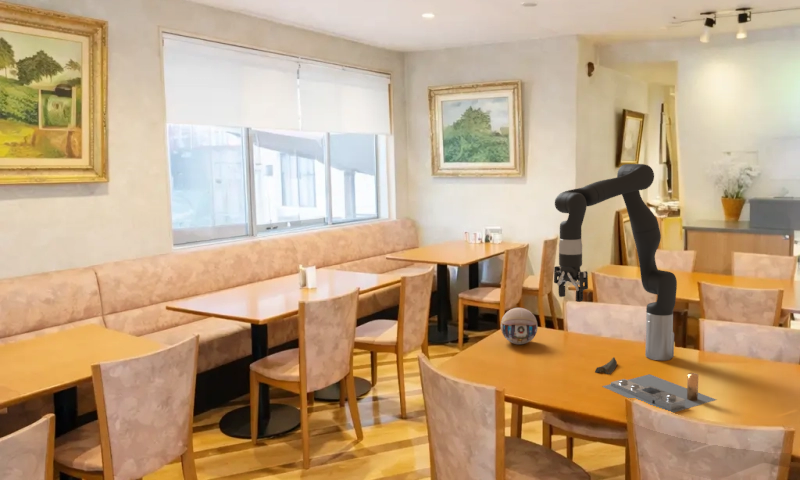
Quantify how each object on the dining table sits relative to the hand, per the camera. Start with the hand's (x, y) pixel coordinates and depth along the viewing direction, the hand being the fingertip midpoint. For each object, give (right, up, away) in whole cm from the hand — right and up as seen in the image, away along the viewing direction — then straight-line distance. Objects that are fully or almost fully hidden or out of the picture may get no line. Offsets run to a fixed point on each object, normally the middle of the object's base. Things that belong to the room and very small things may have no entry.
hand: (570, 298), depth 208 cm
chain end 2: (+23, -30, -18) cm, 42 cm away
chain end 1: (+19, -29, -10) cm, 36 cm away
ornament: (-8, -23, +46) cm, 52 cm away
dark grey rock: (+17, -27, +13) cm, 34 cm away
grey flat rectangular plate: (+25, -30, -11) cm, 40 cm away
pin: (+33, -30, -17) cm, 48 cm away
